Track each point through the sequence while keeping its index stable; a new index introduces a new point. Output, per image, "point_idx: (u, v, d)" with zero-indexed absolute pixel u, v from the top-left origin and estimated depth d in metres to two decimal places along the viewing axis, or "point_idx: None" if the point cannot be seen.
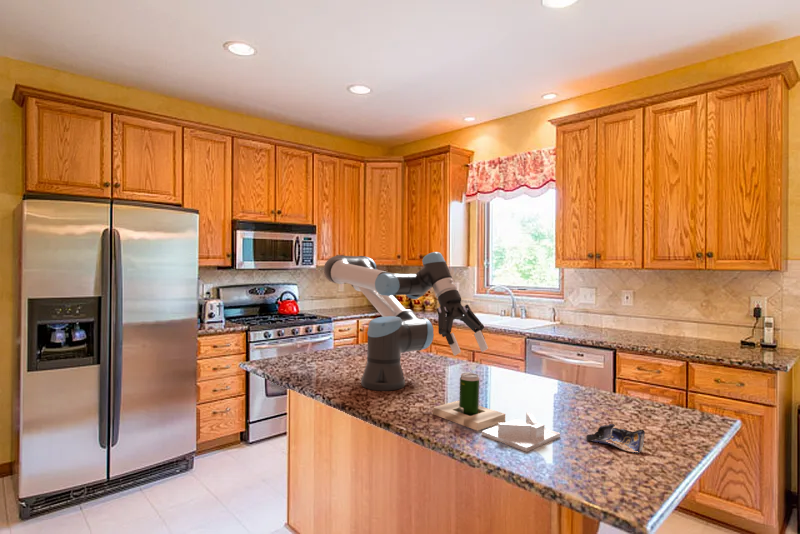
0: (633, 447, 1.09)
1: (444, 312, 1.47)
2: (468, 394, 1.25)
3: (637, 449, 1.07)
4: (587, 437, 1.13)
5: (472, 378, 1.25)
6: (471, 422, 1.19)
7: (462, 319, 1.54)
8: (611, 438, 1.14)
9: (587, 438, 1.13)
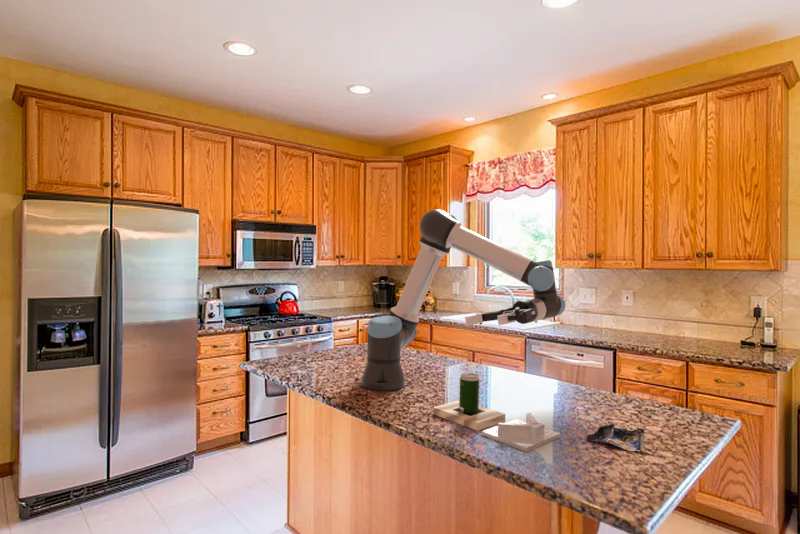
0: (633, 446, 1.09)
1: None
2: (468, 394, 1.25)
3: (638, 448, 1.08)
4: (588, 437, 1.13)
5: (472, 378, 1.25)
6: (471, 422, 1.19)
7: (501, 313, 1.46)
8: (610, 438, 1.15)
9: (588, 438, 1.13)
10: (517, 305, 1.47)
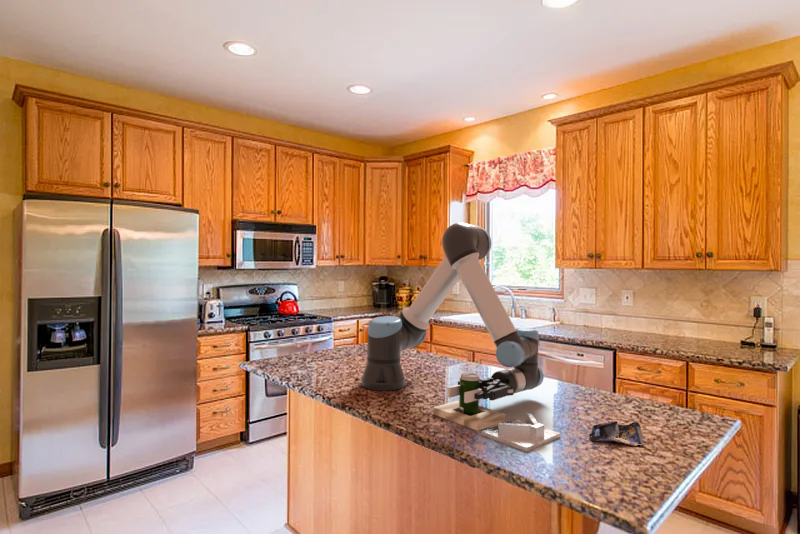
0: (633, 440, 1.13)
1: None
2: None
3: (639, 442, 1.12)
4: (592, 438, 1.13)
5: (472, 378, 1.25)
6: (471, 422, 1.19)
7: (482, 383, 1.34)
8: None
9: (592, 439, 1.13)
10: (497, 376, 1.38)
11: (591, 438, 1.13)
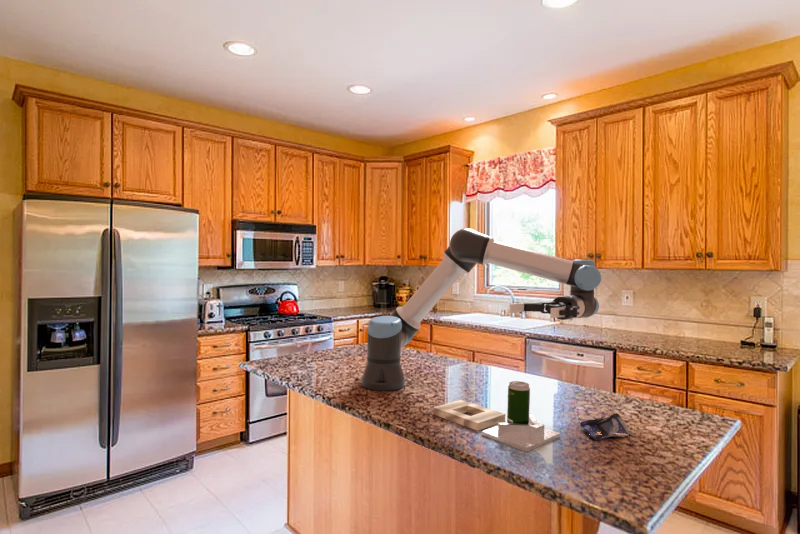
0: (620, 431, 1.19)
1: None
2: (518, 405, 1.13)
3: (626, 432, 1.18)
4: (596, 437, 1.13)
5: (523, 387, 1.13)
6: (471, 422, 1.19)
7: (542, 305, 1.43)
8: (595, 430, 1.19)
9: (597, 438, 1.13)
10: (558, 300, 1.45)
11: (596, 438, 1.13)
